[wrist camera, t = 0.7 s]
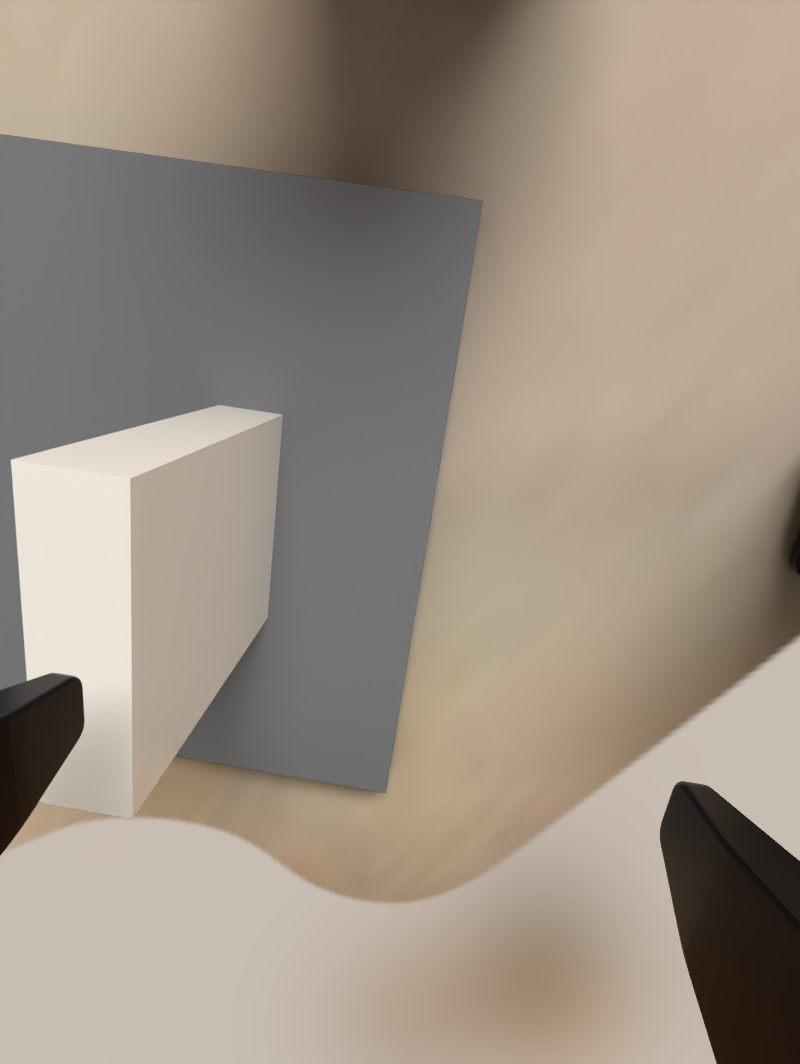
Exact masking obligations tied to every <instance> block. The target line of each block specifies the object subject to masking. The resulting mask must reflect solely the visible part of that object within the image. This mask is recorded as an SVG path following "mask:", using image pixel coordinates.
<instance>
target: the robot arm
mask: <svg viewBox="0 0 800 1064" xmlns="http://www.w3.org/2000/svg"><path fill="white" fill-rule="evenodd" d="M789 565H790V568H791V569H792V570H793V571H794V572H795V573H796V574H798V575H799V576H800V532H799V534H798V537H797V540H796V542H795V545H794V548H793V550H792V553H791V556H790V559H789ZM84 721H85V719H84V702H83V686H82V682H81V680H80V679H79V678H78V677H76V676H71V675H66V674H60V673H49V674H46V675H43V676H40V677H37V678H34V679H31V680H28V681H25V682H22V683H20V684H17V685H14V686H11V687H8V688H5V689H2V690H0V855H1V854H2V853H3V852H4V850H5V849H6V848H7V846H8V845H9V844H10V842H11V841H12V840H13V838H14V837H15V836H16V834H17V833H18V832H19V830H20V829H21V828H22V826H23V825H24V823H25V822H26V820H27V819H28V818H29V816H30V815H31V813H32V812H33V810H34V808H35V807H36V805H37V804H38V802H39V801H40V799H41V798H42V796H43V794H44V793H45V791H46V790H47V788H48V787H49V785H50V784H51V782H52V780H53V779H54V777H55V776H56V774H57V773H58V771H59V770H60V768H61V767H62V765H63V763H64V762H65V760H66V759H67V757H68V756H69V754H70V753H71V751H72V749H73V748H74V746H75V745H76V743H77V742H78V740H79V738H80V736H81V734H82V732H83V728H84ZM660 842H661V848H662V853H663V857H664V862H665V867H666V872H667V877H668V882H669V886H670V892H671V897H672V902H673V906H674V912H675V916H676V921H677V926H678V931H679V936H680V940H681V945H682V949H683V953H684V957H685V961H686V964H687V968H688V971H689V975H690V978H691V981H692V985H693V988H694V991H695V994H696V998H697V1001H698V1004H699V1007H700V1011H701V1014H702V1017H703V1020H704V1024H705V1027H706V1030H707V1033H708V1036H709V1040H710V1043H711V1046H712V1049H713V1053H714V1056H715V1059H716V1063H717V1064H800V861H799V860H798V859H796V858H795V857H794V856H793V855H791V854H790V853H789V852H788V851H787V850H785V849H784V848H783V847H782V846H781V845H779V844H778V843H777V842H776V841H775V840H773V839H772V838H771V837H770V836H769V835H767V834H766V833H765V832H764V831H762V830H761V829H760V828H759V827H757V826H756V825H755V824H754V823H753V822H752V821H750V820H749V819H748V818H747V817H745V816H744V815H743V814H742V813H741V812H740V811H738V810H737V809H736V808H735V807H733V806H732V805H731V804H730V803H729V802H727V801H726V800H725V799H724V798H723V797H721V796H720V795H719V794H718V793H717V792H715V791H714V790H713V789H712V788H710V787H708V786H706V785H702V784H696V783H690V782H684V781H681V782H679V783H677V784H676V785H675V786H674V788H673V791H672V793H671V796H670V799H669V802H668V805H667V808H666V811H665V814H664V817H663V820H662V823H661V828H660Z"/></svg>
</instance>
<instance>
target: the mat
mask: <svg viewBox="0 0 800 1064" xmlns="http://www.w3.org/2000/svg"><path fill="white" fill-rule="evenodd" d="M482 203H483V201H480V200H473V199H466V198H458V197H451V196H444V195H437V194H430V193H422V192H415V191H408V190H401V189H393V188H386V187H379V186H372V185H365V184H357V183H350V182H343V181H336V180H328V179H321V178H314V177H307V176H299V175H292V174H285V173H278V172H271V171H263V170H256V169H249V168H242V167H234V166H227V165H220V164H213V163H206V162H198V161H191V160H184V159H177V158H169V157H162V156H155V155H148V154H140V153H133V152H126V151H119V150H112V149H104V148H97V147H90V146H83V145H75V144H68V143H61V142H54V141H47V140H39V139H32V138H25V137H18V136H10V135H3V134H0V690H2V689H5V688H8V687H11V686H14V685H17V684H20V683H22V682H25V681H27V675H26V661H25V647H24V634H23V620H22V606H21V592H20V579H19V565H18V551H17V538H16V524H15V510H14V496H13V483H12V469H11V459H15V458H19V457H23V456H27V455H31V454H34V453H38V452H42V451H46V450H50V449H53V448H57V447H61V446H65V445H69V444H72V443H76V442H80V441H84V440H88V439H92V438H95V437H99V436H103V435H107V434H111V433H114V432H118V431H122V430H126V429H130V428H134V427H137V426H141V425H145V424H149V423H153V422H156V421H160V420H164V419H168V418H172V417H175V416H179V415H183V414H187V413H191V412H195V411H198V410H202V409H206V408H210V407H214V406H217V405H223V406H229V407H236V408H242V409H249V410H255V411H262V412H268V413H275V414H282V415H283V420H282V433H281V446H280V460H279V473H278V486H277V500H276V513H275V526H274V540H273V553H272V566H271V579H270V593H269V606H268V618H267V620H266V621H265V623H264V624H263V625H262V627H261V628H260V630H259V631H258V633H257V634H256V636H255V637H254V639H253V640H252V642H251V643H250V645H249V646H248V648H247V649H246V651H245V652H244V654H243V655H242V657H241V658H240V660H239V661H238V663H237V664H236V666H235V667H234V669H233V670H232V672H231V673H230V675H229V676H228V678H227V679H226V681H225V682H224V684H223V685H222V687H221V688H220V690H219V691H218V693H217V694H216V696H215V697H214V699H213V700H212V702H211V703H210V705H209V706H208V708H207V709H206V711H205V712H204V714H203V715H202V717H201V718H200V720H199V721H198V722H197V724H196V725H195V727H194V728H193V730H192V731H191V733H190V734H189V736H188V737H187V739H186V740H185V742H184V743H183V745H182V746H181V748H180V749H179V751H178V752H177V754H176V755H175V756H177V757H183V758H188V759H194V760H200V761H205V762H211V763H217V764H222V765H228V766H234V767H239V768H245V769H251V770H256V771H262V772H268V773H274V774H279V775H285V776H291V777H296V778H302V779H308V780H313V781H319V782H325V783H330V784H336V785H342V786H347V787H353V788H359V789H365V790H370V791H376V792H382V793H386V789H387V782H388V776H389V770H390V764H391V758H392V752H393V746H394V740H395V734H396V728H397V721H398V715H399V709H400V703H401V697H402V691H403V685H404V679H405V673H406V667H407V660H408V654H409V648H410V642H411V636H412V630H413V624H414V618H415V612H416V606H417V599H418V593H419V587H420V581H421V575H422V569H423V563H424V557H425V551H426V544H427V538H428V532H429V526H430V520H431V514H432V508H433V502H434V496H435V490H436V483H437V477H438V471H439V465H440V459H441V453H442V447H443V441H444V435H445V429H446V422H447V416H448V410H449V404H450V398H451V392H452V386H453V380H454V374H455V367H456V361H457V355H458V349H459V343H460V337H461V331H462V325H463V319H464V313H465V306H466V300H467V294H468V288H469V282H470V276H471V270H472V264H473V258H474V252H475V245H476V239H477V233H478V227H479V221H480V215H481V209H482Z"/></svg>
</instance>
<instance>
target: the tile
mask: <svg viewBox="0 0 800 1064" xmlns="http://www.w3.org/2000/svg"><path fill="white" fill-rule="evenodd" d="M282 420H283V415H282V414H275V413H268V412H262V411H255V410H249V409H242V408H236V407H229V406H223V405H217V406H214V407H210V408H206V409H202V410H198V411H195V412H191V413H187V414H183V415H179V416H175V417H172V418H168V419H164V420H160V421H156V422H153V423H149V424H145V425H141V426H137V427H134V428H130V429H126V430H122V431H118V432H114V433H111V434H107V435H103V436H99V437H95V438H92V439H88V440H84V441H80V442H76V443H72V444H69V445H65V446H61V447H57V448H53V449H50V450H46V451H42V452H38V453H34V454H31V455H27V456H23V457H19V458H15V459H11V469H12V483H13V496H14V510H15V524H16V538H17V551H18V565H19V579H20V592H21V606H22V620H23V634H24V647H25V661H26V675H27V681H28V680H31V679H34V678H37V677H40V676H43V675H46V674H49V673H60V674H66V675H71V676H76V677H78V678H79V679H80V680H81V682H82V686H83V702H84V719H85V721H84V728H83V732H82V734H81V736H80V738H79V740H78V742H77V743H76V745H75V746H74V748H73V749H72V751H71V753H70V754H69V756H68V757H67V759H66V760H65V762H64V763H63V765H62V767H61V768H60V770H59V771H58V773H57V774H56V776H55V777H54V779H53V780H52V782H51V784H50V785H49V787H48V788H47V790H46V791H45V793H44V794H43V796H42V798H41V799H40V801H39V802H40V803H46V804H51V805H57V806H62V807H68V808H74V809H79V810H85V811H90V812H96V813H101V814H107V815H112V816H118V817H123V818H129V819H133V818H134V817H135V815H136V814H137V812H138V811H139V809H140V808H141V806H142V805H143V803H144V802H145V800H146V799H147V797H148V796H149V794H150V793H151V791H152V790H153V788H154V787H155V785H156V784H157V782H158V781H159V779H160V778H161V776H162V775H163V773H164V772H165V770H166V769H167V767H168V766H169V764H170V763H171V761H172V760H173V758H174V757H175V755H176V754H177V752H178V751H179V749H180V748H181V746H182V745H183V743H184V742H185V740H186V739H187V737H188V736H189V734H190V733H191V731H192V730H193V728H194V727H195V725H196V724H197V722H198V721H199V720H200V718H201V717H202V715H203V714H204V712H205V711H206V709H207V708H208V706H209V705H210V703H211V702H212V700H213V699H214V697H215V696H216V694H217V693H218V691H219V690H220V688H221V687H222V685H223V684H224V682H225V681H226V679H227V678H228V676H229V675H230V673H231V672H232V670H233V669H234V667H235V666H236V664H237V663H238V661H239V660H240V658H241V657H242V655H243V654H244V652H245V651H246V649H247V648H248V646H249V645H250V643H251V642H252V640H253V639H254V637H255V636H256V634H257V633H258V631H259V630H260V628H261V627H262V625H263V624H264V623H265V621H266V620H267V618H268V606H269V593H270V579H271V566H272V553H273V540H274V526H275V513H276V500H277V486H278V473H279V460H280V446H281V433H282Z"/></svg>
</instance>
